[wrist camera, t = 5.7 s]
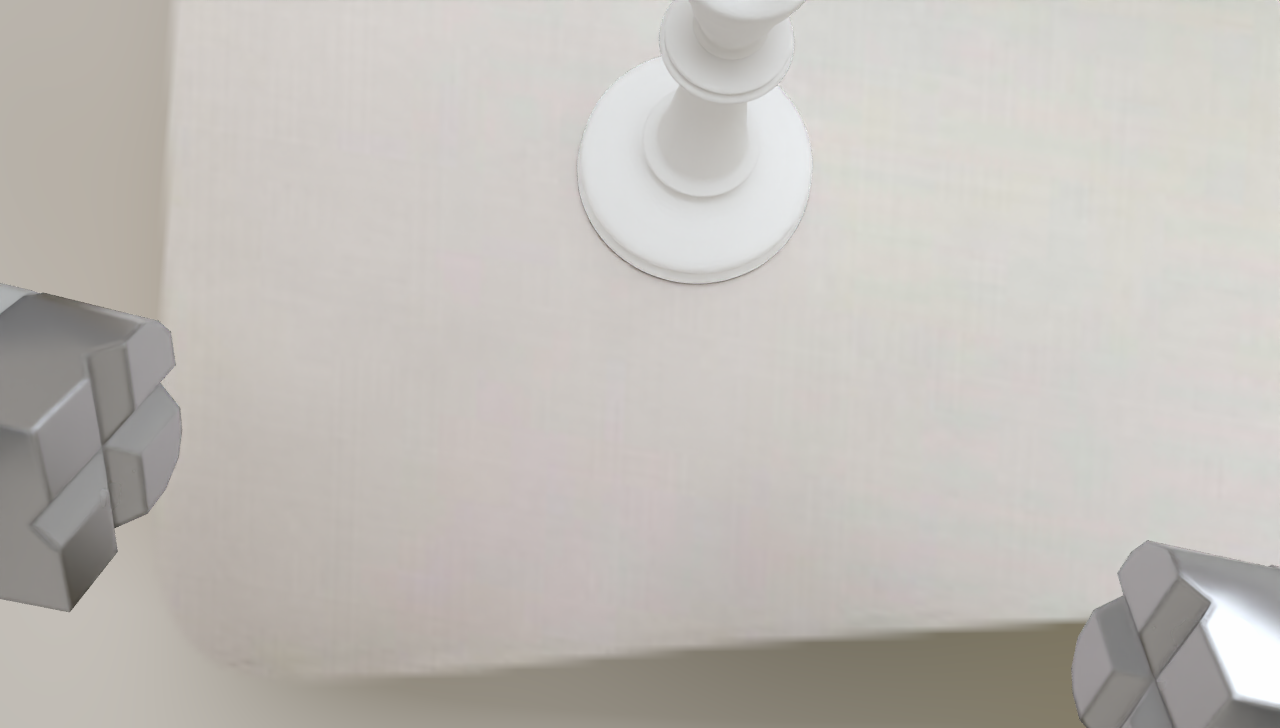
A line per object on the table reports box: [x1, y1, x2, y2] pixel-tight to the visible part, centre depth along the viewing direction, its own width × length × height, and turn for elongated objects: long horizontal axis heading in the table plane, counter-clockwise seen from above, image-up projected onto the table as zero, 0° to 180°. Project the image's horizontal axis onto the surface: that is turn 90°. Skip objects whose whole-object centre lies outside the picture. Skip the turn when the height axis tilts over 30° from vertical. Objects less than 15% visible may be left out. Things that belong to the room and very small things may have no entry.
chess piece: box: [577, 0, 813, 284], centre depth 16 cm, size 5×5×10 cm
